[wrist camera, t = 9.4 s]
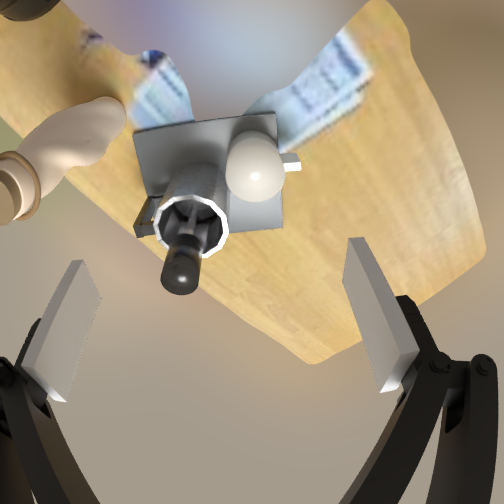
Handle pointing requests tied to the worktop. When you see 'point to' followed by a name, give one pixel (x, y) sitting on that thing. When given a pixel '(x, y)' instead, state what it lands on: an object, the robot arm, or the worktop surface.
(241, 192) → the cream mug
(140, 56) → the worktop surface
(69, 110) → the water bottle
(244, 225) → the slate board
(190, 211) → the plunger
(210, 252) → the press carafe
